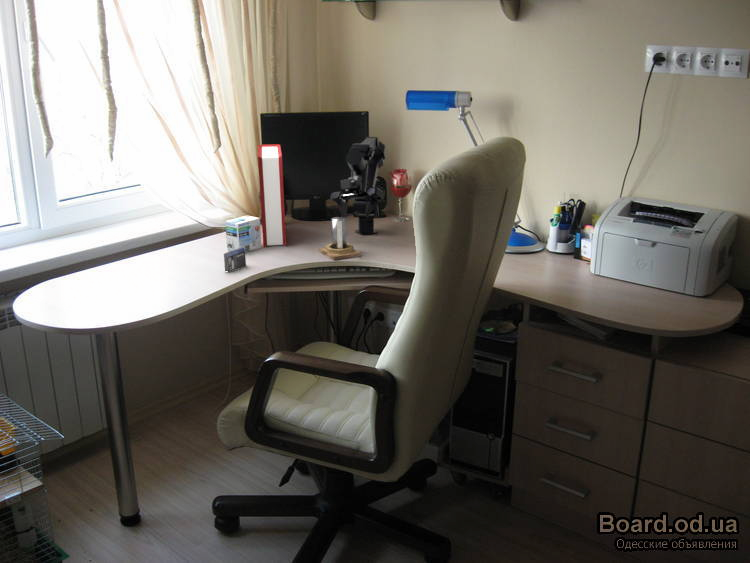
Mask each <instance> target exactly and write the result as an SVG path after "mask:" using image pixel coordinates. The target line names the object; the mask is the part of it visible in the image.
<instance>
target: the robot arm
mask: <svg viewBox="0 0 750 563" xmlns="http://www.w3.org/2000/svg"><path fill="white" fill-rule="evenodd" d="M348 151H349V152H348V153H347V154H346V156H345V159H346V163H347V165H348V167H349V169H350V170H351V173H350V177H348V178H347V179H340V190H345V193H344V192H343V191H340V190H339V191H334V192H332V193H331V194H330V201H332V202H333V203H335V204H336V205H338V209H339V212H340V215H341V216H340V217H344V218H346V219H347V214H348V209H349V204H348V203H349V201H350V200H353V201H352V216H353V218H357V219H358V220H357V221H358V222H357V224H358V225H357V228H358V229H355V230H354V232H355V233H356V234H359V235H361V236H365V235H366V236H367V235H373V234H378V230H375V220H374V219H376V218H379V217H380V214H379V207H378V203H381V201H382V200H384V198H385V193H384V191H383V190H381V189H380V188H379V187H377V186H376V184H377V177H378V172H379V170H380V168H381V167H383V166H384V164H385V162H386V161H385V160H387V157H388V156H387V154H388V153H387V148H386V144H384V143H382V142H381V141H380V138H379V137H378V136H367V137H365V138H364V140H363V141H362V142H360V143H353V144H352V146H351V147H350V148H349V150H348ZM346 192H347V194H346Z"/></svg>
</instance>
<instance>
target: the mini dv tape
mask: <svg viewBox="0 0 750 563" xmlns="http://www.w3.org/2000/svg"><path fill="white" fill-rule="evenodd" d="M223 259H224V261H223V262H224V271H228V272H227V273H231V272H233V271H232V270H234V271H236V270H235V269H237V270H239V269H241V267H242V268H244V267H246V266H247V264H246V263H247V262H246V261H247V260H246V259H247V258H246V252H245V249H244V248H238V249H236V250H233V251H227V252H225V253H223ZM238 268H239V269H238ZM230 271H231V272H230Z"/></svg>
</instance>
